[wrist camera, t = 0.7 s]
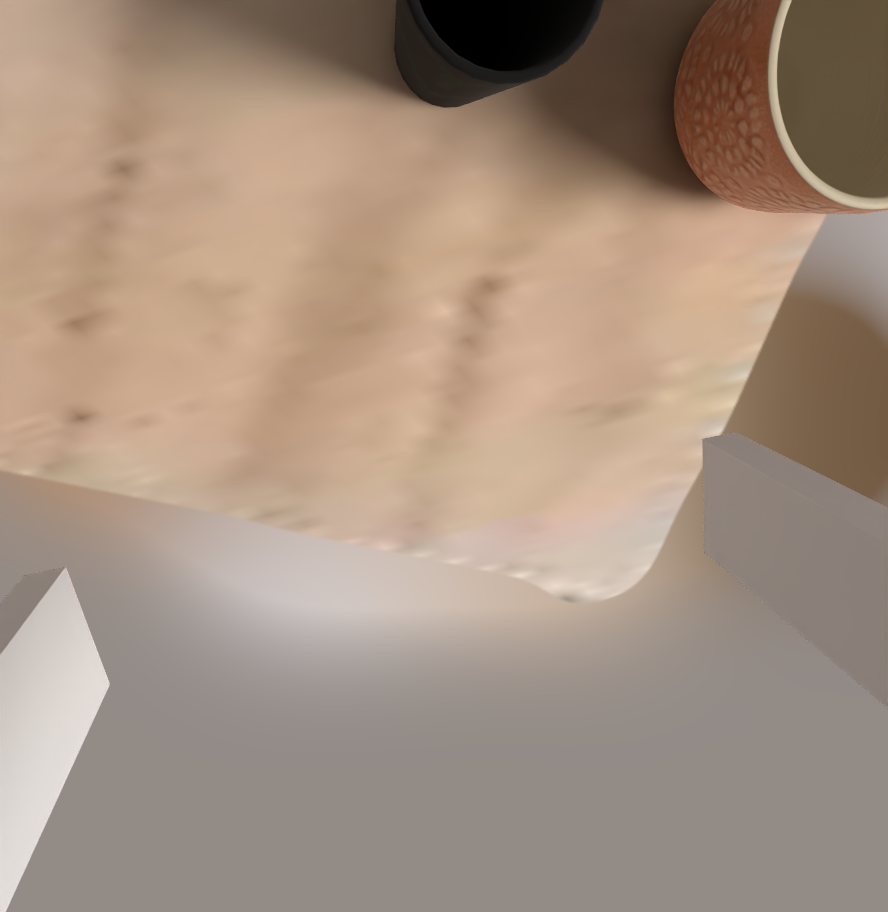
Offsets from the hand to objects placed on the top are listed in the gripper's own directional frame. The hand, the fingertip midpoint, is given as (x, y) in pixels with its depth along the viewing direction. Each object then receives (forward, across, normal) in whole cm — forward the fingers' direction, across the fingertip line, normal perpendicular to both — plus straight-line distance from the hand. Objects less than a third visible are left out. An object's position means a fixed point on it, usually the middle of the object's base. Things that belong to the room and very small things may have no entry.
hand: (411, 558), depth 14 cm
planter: (+27, +24, +10) cm, 38 cm away
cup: (+27, +8, +14) cm, 32 cm away
